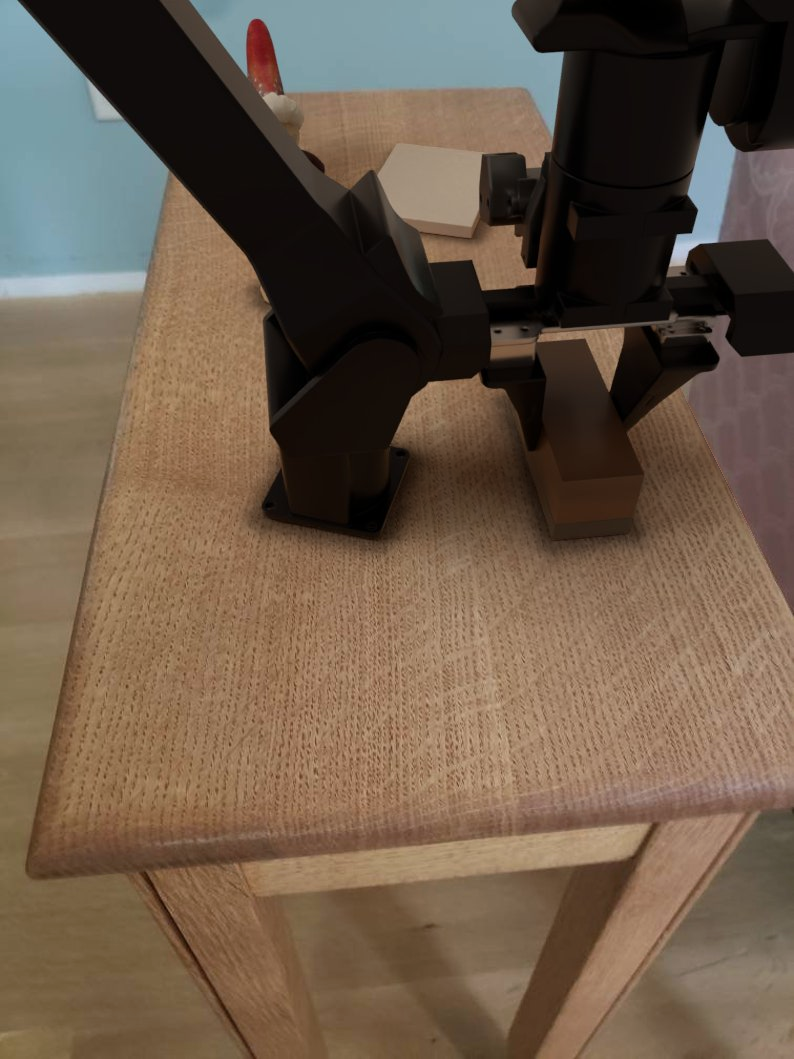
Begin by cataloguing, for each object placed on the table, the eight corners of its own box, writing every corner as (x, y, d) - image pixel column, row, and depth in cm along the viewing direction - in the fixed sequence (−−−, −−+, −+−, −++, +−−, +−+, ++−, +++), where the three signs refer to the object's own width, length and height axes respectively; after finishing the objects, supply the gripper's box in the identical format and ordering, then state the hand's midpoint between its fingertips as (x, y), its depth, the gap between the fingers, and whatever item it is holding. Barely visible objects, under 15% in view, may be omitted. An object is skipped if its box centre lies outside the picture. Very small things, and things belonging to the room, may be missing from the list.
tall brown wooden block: (628, 533, 44) (645, 475, 41) (552, 540, 43) (563, 482, 40) (574, 396, 51) (585, 338, 48) (508, 402, 51) (515, 343, 48)
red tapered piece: (286, 134, 75) (272, 7, 68) (306, 237, 64) (292, 96, 56) (253, 137, 75) (236, 9, 67) (267, 241, 63) (248, 100, 56)
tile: (471, 239, 63) (472, 226, 62) (354, 223, 65) (354, 211, 64) (501, 166, 71) (502, 154, 70) (397, 154, 72) (397, 142, 72)
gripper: (766, 66, 40) (686, 340, 52) (373, 88, 39) (381, 364, 51) (881, 176, 33) (757, 467, 45) (401, 208, 32) (403, 498, 43)
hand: (568, 442), depth 46 cm, fingers closed on tall brown wooden block, 4 cm apart
